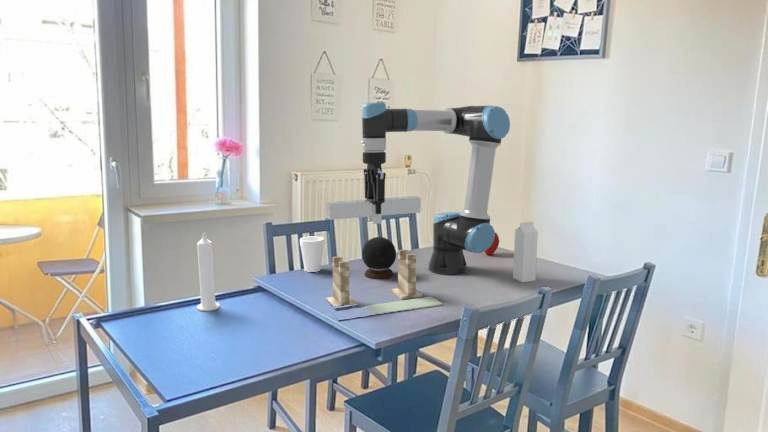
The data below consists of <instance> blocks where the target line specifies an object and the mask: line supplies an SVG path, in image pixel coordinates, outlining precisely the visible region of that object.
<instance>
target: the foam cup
mask: <svg viewBox="0 0 768 432" xmlns="http://www.w3.org/2000/svg"><path fill="white" fill-rule="evenodd" d="M299 245H300V250H301V255H302V256H301V257H302V263H303V269H304V272H305V271H307V272H316V273H318V272H317V271H320V270H322V262H323V254H324V245H325V238H324V237H323V236H317V235H315V236H313V235H310V236H309V235H308V236H303V237H301V238H299ZM307 272H306V273H307ZM320 272H321V271H320Z"/></svg>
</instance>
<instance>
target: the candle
mask: <svg viewBox="0 0 768 432" xmlns="http://www.w3.org/2000/svg"><path fill="white" fill-rule="evenodd" d="M196 245H197V260H198V263H197V264H198V277H199V278H198V280H199V290H200V291H199V292H200V293H199V294H200V304H198V305H197V306H196V309H197V310H198V311H200V312H211V311H215V310H218V309H219V308H220V307H221V305H220V303H219V302H216V288H215V271H214V268H215V267H214V256H213V253H214V252H213V242H212V241H211V240H209V239H208V238H207V234H206V232H203V233H202V238H201V239H200V240H199V241H198V242H197V243H196Z"/></svg>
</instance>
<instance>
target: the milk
mask: <svg viewBox="0 0 768 432" xmlns="http://www.w3.org/2000/svg"><path fill="white" fill-rule="evenodd" d="M538 234H539V232H538V230H537V229H536V227H535V226H534V221H528V222H527V221H526V222H520V223H519V227H517V228H516V229H514V242H513V243H514V244H513V245H514V248H513V249H514V250H513V266H512V269H513V270H512V271H513V272H512V279H514V280H516V281H518V282H520V283H527V282H528V283H529V282H535V281H536V280H537V279H536V276H537V255H538V253H537V252H538V237H539V236H538Z"/></svg>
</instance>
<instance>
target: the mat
mask: <svg viewBox="0 0 768 432" xmlns="http://www.w3.org/2000/svg"><path fill="white" fill-rule="evenodd" d="M443 305H444V304H443V303H442V302H441V301H440V300H438V299H437V298H436V297H435V298H434V297H433V296H426V297H425V296H424V297H416V298H409V299H402V300H397V301H390V302H384V303H383V302H382V303H376V304H369V305H364V307H368V308H367V309H369V308H370V310H368V311H372V312H370V313H373V314H379V313H387V312H395V313H398V312H397V311H401V312H405V311H404V310H408V311H413V310H412V309H414V310H420V309H425V308H431V307H432V308H433V307H439V306H440V307H441V306H443ZM364 310H365V309H364Z"/></svg>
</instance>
